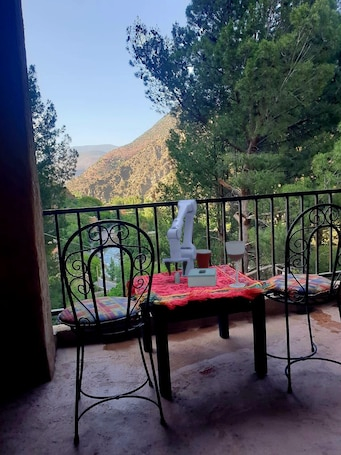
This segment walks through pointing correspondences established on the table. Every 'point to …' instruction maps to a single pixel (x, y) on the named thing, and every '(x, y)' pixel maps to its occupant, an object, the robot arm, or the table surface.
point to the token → (177, 277)
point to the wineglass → (236, 257)
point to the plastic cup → (203, 258)
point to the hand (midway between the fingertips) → (177, 275)
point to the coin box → (202, 277)
